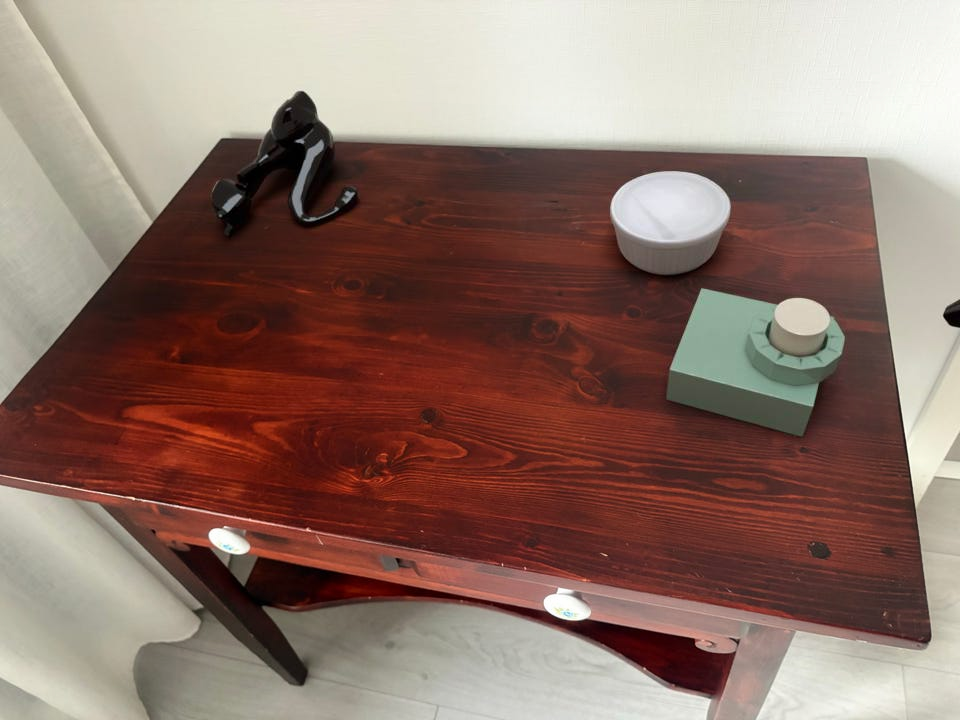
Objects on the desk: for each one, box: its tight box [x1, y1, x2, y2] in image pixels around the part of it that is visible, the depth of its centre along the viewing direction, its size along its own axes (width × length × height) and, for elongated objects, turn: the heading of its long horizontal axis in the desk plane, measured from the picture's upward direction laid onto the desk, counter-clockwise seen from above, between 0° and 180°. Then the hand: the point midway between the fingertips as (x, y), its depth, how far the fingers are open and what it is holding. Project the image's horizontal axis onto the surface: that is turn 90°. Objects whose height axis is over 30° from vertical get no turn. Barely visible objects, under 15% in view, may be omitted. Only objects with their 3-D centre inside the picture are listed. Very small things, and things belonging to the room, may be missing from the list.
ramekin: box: [609, 170, 732, 276], centre depth 74 cm, size 11×11×5 cm
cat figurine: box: [210, 90, 359, 238], centre depth 87 cm, size 10×14×18 cm
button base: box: [665, 287, 846, 438], centre depth 62 cm, size 12×10×6 cm
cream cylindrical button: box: [769, 297, 831, 357], centre depth 58 cm, size 4×4×2 cm
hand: (947, 317), depth 50 cm, fingers closed
